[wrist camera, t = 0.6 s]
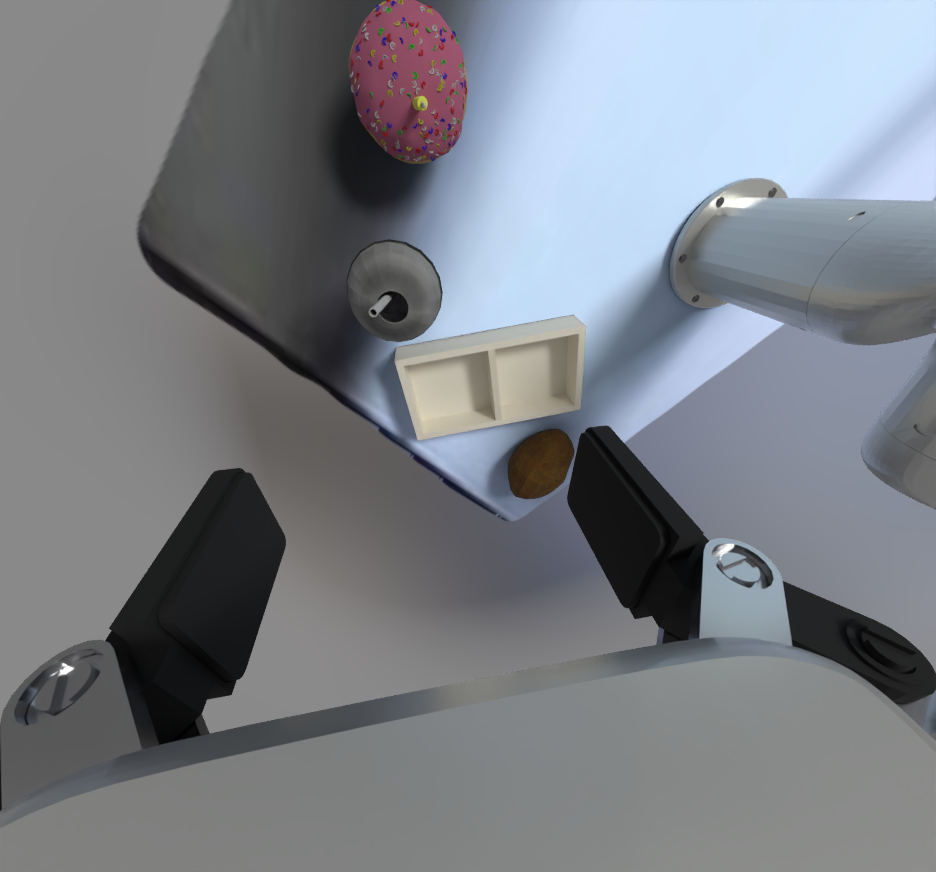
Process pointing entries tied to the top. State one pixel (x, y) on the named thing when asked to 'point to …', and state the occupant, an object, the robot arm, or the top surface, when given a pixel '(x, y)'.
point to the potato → (540, 464)
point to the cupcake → (409, 81)
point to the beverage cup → (394, 290)
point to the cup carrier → (493, 376)
